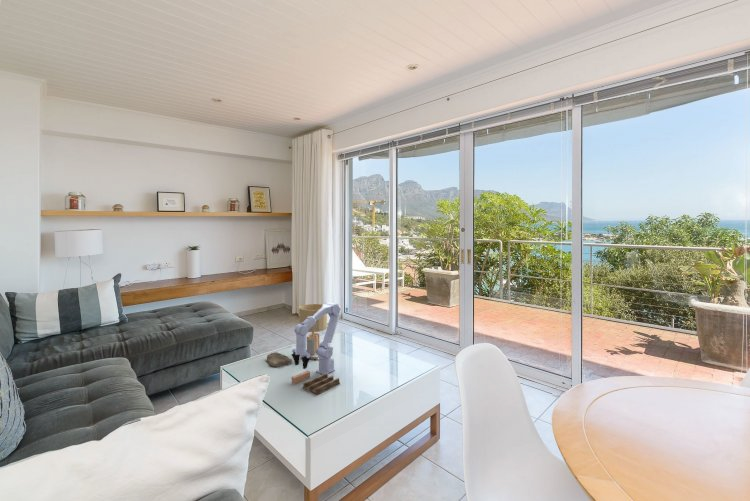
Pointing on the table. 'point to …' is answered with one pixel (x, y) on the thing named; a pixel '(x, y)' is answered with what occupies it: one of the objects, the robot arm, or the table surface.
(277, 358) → the brown rock
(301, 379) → the light brown long block
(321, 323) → the desk lamp
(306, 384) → the walnut rack
